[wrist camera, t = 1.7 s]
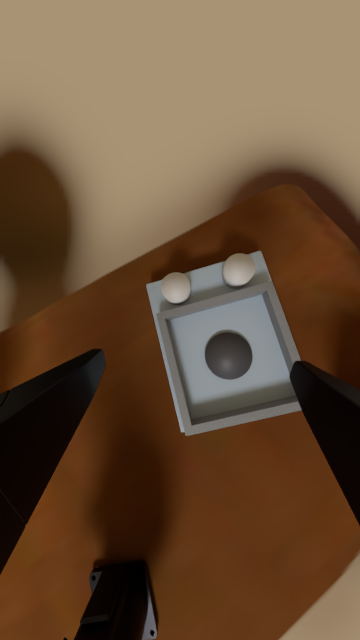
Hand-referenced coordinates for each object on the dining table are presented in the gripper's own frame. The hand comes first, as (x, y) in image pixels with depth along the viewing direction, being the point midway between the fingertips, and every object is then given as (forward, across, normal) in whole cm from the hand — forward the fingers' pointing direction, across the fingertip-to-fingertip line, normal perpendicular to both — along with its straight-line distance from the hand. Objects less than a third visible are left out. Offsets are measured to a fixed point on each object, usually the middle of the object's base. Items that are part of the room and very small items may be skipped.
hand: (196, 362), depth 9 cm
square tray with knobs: (+13, -4, +6) cm, 15 cm away
